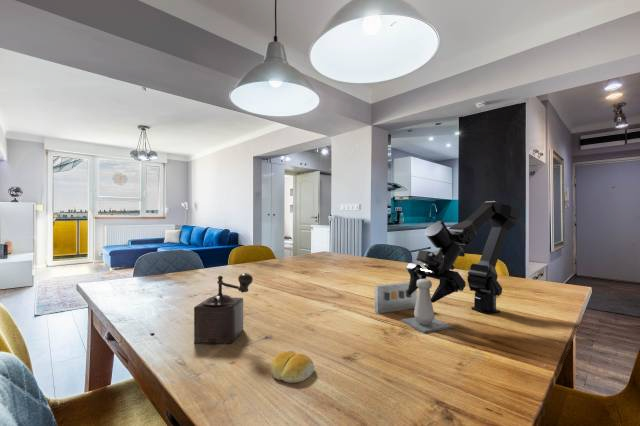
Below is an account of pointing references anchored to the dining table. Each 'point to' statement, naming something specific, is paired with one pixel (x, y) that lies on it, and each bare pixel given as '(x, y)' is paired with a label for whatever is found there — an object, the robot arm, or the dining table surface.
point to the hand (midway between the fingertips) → (419, 297)
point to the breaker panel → (394, 297)
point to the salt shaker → (424, 303)
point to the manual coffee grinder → (221, 315)
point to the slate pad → (434, 325)
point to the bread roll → (292, 367)
